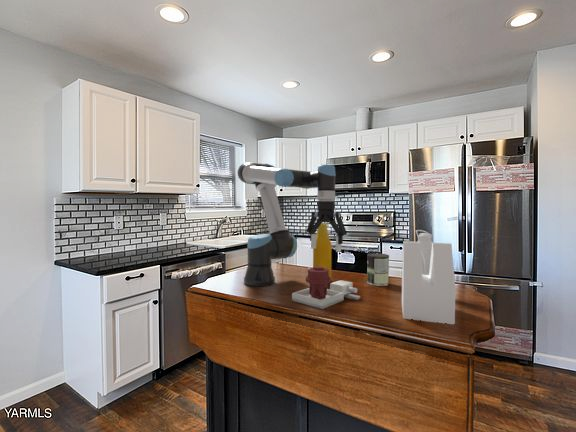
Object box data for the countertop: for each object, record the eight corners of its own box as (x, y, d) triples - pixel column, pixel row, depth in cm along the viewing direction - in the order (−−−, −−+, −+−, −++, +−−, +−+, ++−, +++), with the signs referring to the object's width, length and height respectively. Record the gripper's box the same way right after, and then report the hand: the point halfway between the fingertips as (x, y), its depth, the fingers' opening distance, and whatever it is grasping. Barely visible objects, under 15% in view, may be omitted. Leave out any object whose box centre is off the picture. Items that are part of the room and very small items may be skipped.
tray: (292, 300, 121) (292, 293, 121) (314, 293, 132) (314, 286, 132) (322, 309, 111) (322, 300, 111) (343, 300, 122) (343, 292, 122)
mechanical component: (331, 295, 125) (329, 302, 116) (307, 293, 127) (303, 300, 118) (331, 265, 125) (330, 270, 115) (307, 264, 127) (303, 268, 117)
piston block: (330, 292, 128) (330, 283, 128) (340, 289, 134) (340, 280, 133) (351, 297, 121) (351, 287, 121) (360, 293, 127) (361, 284, 127)
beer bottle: (334, 280, 154) (334, 223, 153) (326, 284, 146) (327, 224, 145) (317, 278, 159) (318, 223, 158) (309, 282, 151) (309, 223, 150)
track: (333, 294, 130) (333, 292, 129) (337, 293, 132) (337, 290, 132) (356, 300, 122) (356, 297, 122) (360, 298, 124) (360, 296, 124)
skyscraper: (421, 297, 127) (423, 230, 126) (410, 292, 135) (411, 229, 134) (439, 296, 129) (440, 230, 128) (426, 291, 137) (428, 229, 136)
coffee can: (363, 283, 148) (364, 255, 148) (371, 279, 157) (371, 252, 156) (384, 287, 142) (385, 257, 142) (391, 282, 151) (392, 254, 150)
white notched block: (454, 324, 97) (456, 246, 96) (403, 318, 102) (404, 244, 101) (444, 306, 115) (446, 240, 115) (401, 302, 120) (402, 239, 120)
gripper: (299, 200, 138) (298, 248, 138) (345, 200, 121) (345, 254, 122) (309, 201, 143) (309, 246, 144) (355, 200, 127) (354, 252, 127)
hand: (325, 250), depth 133 cm, fingers open, 12 cm apart
